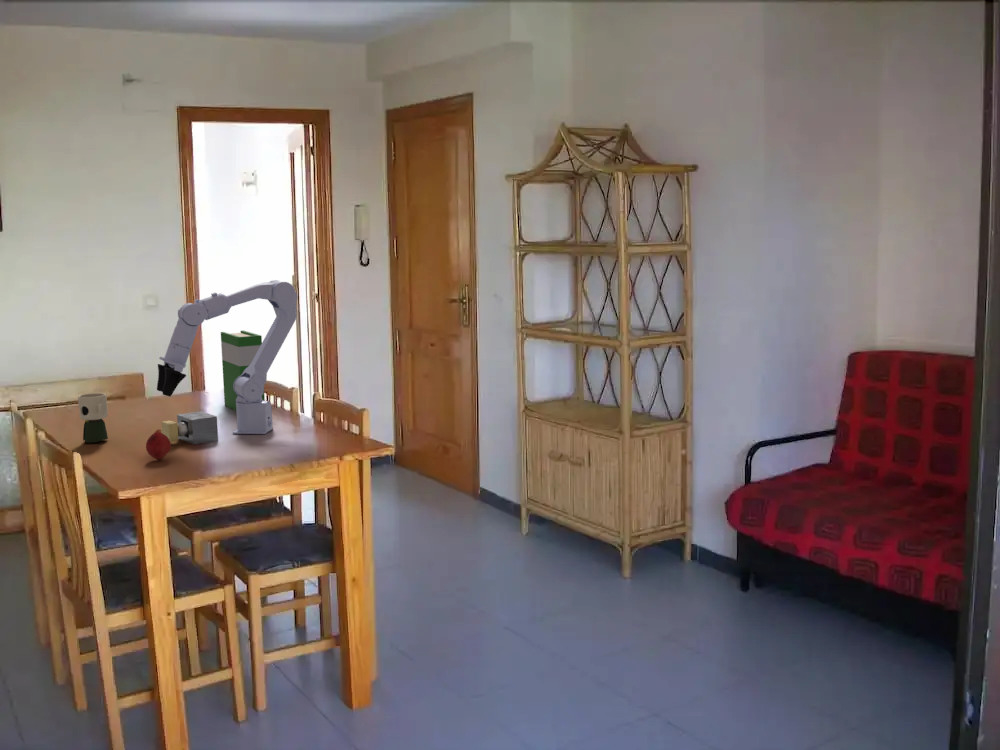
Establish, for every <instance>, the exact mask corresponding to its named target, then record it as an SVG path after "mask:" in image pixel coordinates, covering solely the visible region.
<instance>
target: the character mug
mask: <svg viewBox="0 0 1000 750" xmlns="http://www.w3.org/2000/svg"><path fill="white" fill-rule="evenodd" d="M77 399H78V400H77V401H78V403H77V404H78V409H79V410H78V411H79V413H78V414H79V419H80V420H83V421H84V424H83V431H82V432H83V434H82V442H84V443H97V444H98V443H99V442H101V441H104V440H105V441H106V440H108V439H109V436H108V431H107V427H106V423H105V420H104V419H105V418H107V417H108V416H109V414H108V412H109V411H108V402H107V401H108V400H107V394H106V393H104V392H93V393H92V392H91V393H83V394H80V395H79V394H78V396H77Z"/></svg>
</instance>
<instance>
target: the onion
mask: <svg viewBox="0 0 1000 750" xmlns="http://www.w3.org/2000/svg"><path fill="white" fill-rule="evenodd" d="M171 443H172V442H170V440H169V439H168V437H167V436H166V435H164V434H163V433H162V429H160V428H157V429H155V431H154V432H153V433H152V434H151V435H150V436H149V437H148V439H147V440H146V443H145V448H146V449H145V450H146V452H147V454H149V456H150V457H152V458H153V459H155V460H156V461H162V460H163V459H164V458H165V457H166V456H167V455H169V453H170V451H171V447H172V444H171ZM161 459H162V460H161Z"/></svg>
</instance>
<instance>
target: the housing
mask: <svg viewBox="0 0 1000 750" xmlns="http://www.w3.org/2000/svg"><path fill="white" fill-rule="evenodd" d="M176 419H177V420H176V423H180V422H188V431H189V435H188V436H182V437H178V440H180V439H181V440H180V441H183V440H184V441H183V442H185V441H187V442H186V443H188V442H190V443H192V444H191V445H193V444H196V445H200V444H199V443H202V444H207V443H206V442H208V443H214V441H215V442H219V432H218V416H217V415H213V414H210V413H207V412H206V411H200V410H199V411H193V412H186V413H179V414H176ZM190 443H189V444H190Z"/></svg>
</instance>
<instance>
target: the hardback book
mask: <svg viewBox="0 0 1000 750" xmlns="http://www.w3.org/2000/svg"><path fill="white" fill-rule="evenodd" d="M262 337H263V336H262V335H261V334H258V333H253V332H250V331H246V330H240V332H235V333H233V332H232V333H228V332H225V331H221V332H220V341H221V342H220V344H221V360H222V361H221V362H222V378H223V379H222V381H223V382H222V383H223V397H224V398H223V399H224V401H223V402H224V406H225V407H227V408H229V409H231V410H233V411H235V412H236V398H237V396H238V395H237V394H236V393H235V391H234V389H233V384H234V381H235V380H236V379H237V378H238V377H239V376H241V375H242V373H243V372H244V370H245V369H246V368H247V367H248V366H249V365H250V364H251V362H252V361H253V359H254V357H255V355H256V353H257V351H258V350H259V348H260V346H261V344H262V342H263V340H262V339H263V338H262ZM265 397H266V396H265V391H264V392H263V395H262V400H263V401H266V399H265Z"/></svg>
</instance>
